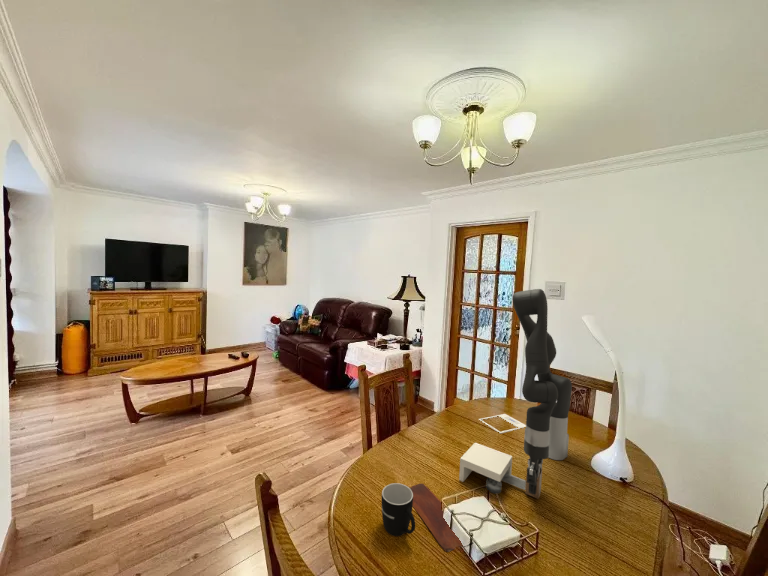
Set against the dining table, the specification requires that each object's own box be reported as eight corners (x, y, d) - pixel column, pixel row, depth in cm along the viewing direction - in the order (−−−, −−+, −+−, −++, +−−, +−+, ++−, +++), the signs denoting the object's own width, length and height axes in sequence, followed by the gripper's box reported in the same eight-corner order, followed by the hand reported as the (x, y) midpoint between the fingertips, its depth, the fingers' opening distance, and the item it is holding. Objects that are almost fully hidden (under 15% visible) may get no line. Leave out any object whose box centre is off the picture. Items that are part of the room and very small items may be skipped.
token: (490, 482, 112) (490, 475, 112) (503, 489, 108) (504, 483, 108) (483, 487, 109) (483, 480, 109) (496, 495, 105) (497, 488, 105)
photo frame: (527, 425, 155) (500, 432, 147) (527, 427, 155) (500, 434, 147) (504, 413, 168) (478, 418, 161) (504, 415, 168) (478, 420, 161)
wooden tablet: (476, 544, 86) (476, 538, 86) (445, 556, 82) (445, 550, 82) (425, 483, 111) (425, 479, 111) (400, 490, 107) (400, 485, 107)
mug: (374, 523, 91) (375, 490, 91) (398, 511, 97) (399, 479, 96) (400, 554, 82) (401, 517, 81) (425, 538, 87) (427, 503, 86)
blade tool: (540, 492, 107) (542, 469, 106) (538, 498, 103) (539, 475, 103) (489, 471, 117) (490, 450, 117) (485, 476, 114) (486, 455, 113)
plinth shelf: (511, 477, 115) (512, 456, 115) (498, 498, 104) (500, 474, 104) (474, 462, 124) (475, 442, 123) (459, 480, 112) (460, 458, 112)
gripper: (529, 428, 113) (526, 474, 114) (519, 444, 102) (516, 496, 103) (552, 435, 109) (549, 483, 109) (545, 453, 97) (541, 506, 98)
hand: (533, 489), depth 106 cm, fingers closed on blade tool, 4 cm apart
